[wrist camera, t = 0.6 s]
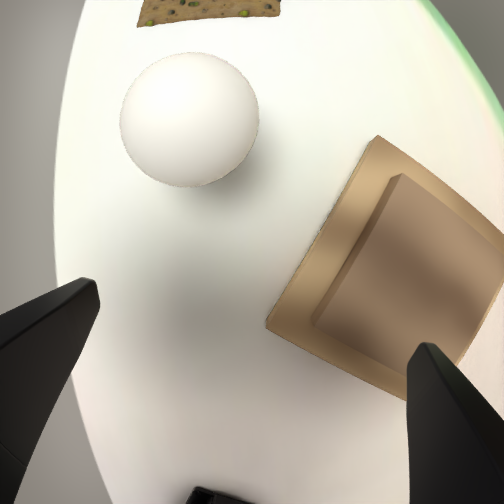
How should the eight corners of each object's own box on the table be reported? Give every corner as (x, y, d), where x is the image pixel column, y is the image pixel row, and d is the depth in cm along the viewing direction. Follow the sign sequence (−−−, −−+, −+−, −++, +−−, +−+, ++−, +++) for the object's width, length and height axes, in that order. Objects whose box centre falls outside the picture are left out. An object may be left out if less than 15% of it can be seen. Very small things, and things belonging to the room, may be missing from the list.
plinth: (416, 398, 21) (435, 423, 17) (266, 319, 22) (264, 339, 18) (503, 247, 20) (534, 250, 16) (369, 142, 20) (387, 125, 16)
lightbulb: (181, 207, 22) (96, 192, 11) (172, 123, 21) (95, 52, 10) (271, 193, 21) (266, 159, 10) (258, 107, 21) (242, 12, 10)
